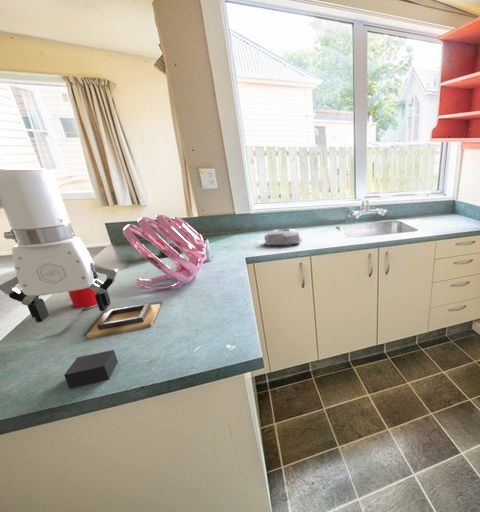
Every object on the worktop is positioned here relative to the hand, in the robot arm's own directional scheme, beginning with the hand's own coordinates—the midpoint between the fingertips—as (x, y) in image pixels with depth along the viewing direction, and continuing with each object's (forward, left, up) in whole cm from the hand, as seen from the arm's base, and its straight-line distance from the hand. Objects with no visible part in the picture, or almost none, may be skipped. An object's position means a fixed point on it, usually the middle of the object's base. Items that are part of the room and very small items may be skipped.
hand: (75, 313), depth 62 cm
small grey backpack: (+56, +96, -15) cm, 112 cm away
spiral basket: (+9, +54, -15) cm, 56 cm away
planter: (+18, +79, -15) cm, 82 cm away
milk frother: (+1, +102, -15) cm, 103 cm away
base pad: (0, +26, -15) cm, 30 cm away
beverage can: (-14, +43, -15) cm, 47 cm away
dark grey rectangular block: (0, 0, -15) cm, 15 cm away
